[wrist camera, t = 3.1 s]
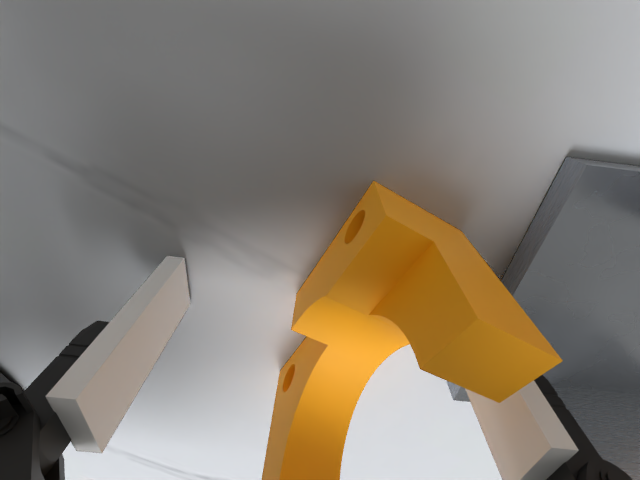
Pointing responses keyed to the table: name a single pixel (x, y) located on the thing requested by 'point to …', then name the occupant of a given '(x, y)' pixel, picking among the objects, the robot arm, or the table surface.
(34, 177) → the table surface
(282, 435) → the orange angled block
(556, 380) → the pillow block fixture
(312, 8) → the table surface
